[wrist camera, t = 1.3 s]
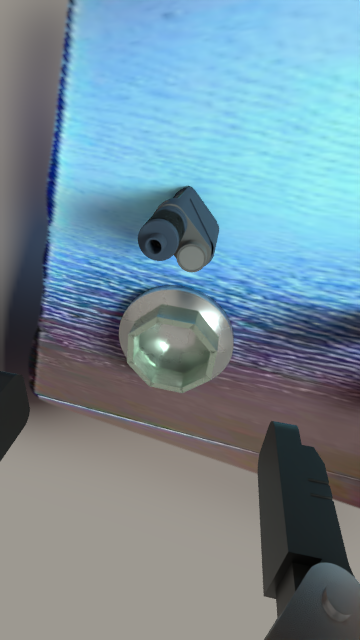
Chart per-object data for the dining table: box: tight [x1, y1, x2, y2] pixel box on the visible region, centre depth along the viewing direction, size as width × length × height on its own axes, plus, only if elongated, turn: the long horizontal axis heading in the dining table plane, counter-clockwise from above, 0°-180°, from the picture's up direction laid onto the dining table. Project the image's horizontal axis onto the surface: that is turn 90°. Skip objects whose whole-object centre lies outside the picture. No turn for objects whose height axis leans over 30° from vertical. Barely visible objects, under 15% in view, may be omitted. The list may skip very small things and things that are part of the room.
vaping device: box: [138, 186, 219, 272], centre depth 24 cm, size 3×5×12 cm, turn 38°
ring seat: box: [119, 285, 234, 393], centre depth 34 cm, size 12×12×4 cm
